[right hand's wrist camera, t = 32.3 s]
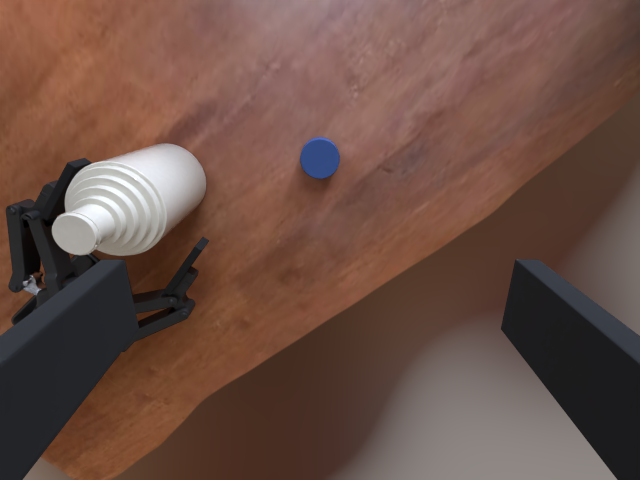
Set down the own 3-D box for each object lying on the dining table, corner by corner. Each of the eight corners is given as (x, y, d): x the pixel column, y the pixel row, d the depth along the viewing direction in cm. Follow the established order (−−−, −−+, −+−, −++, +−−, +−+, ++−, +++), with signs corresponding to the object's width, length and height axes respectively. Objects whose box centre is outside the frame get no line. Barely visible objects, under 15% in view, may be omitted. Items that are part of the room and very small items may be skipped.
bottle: (120, 184, 43) (-8, 241, 26) (158, 127, 40) (44, 149, 24) (181, 228, 45) (98, 307, 28) (220, 176, 42) (156, 229, 26)
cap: (301, 175, 42) (300, 178, 41) (301, 137, 41) (300, 139, 39) (338, 175, 42) (339, 178, 41) (339, 137, 41) (340, 139, 39)
